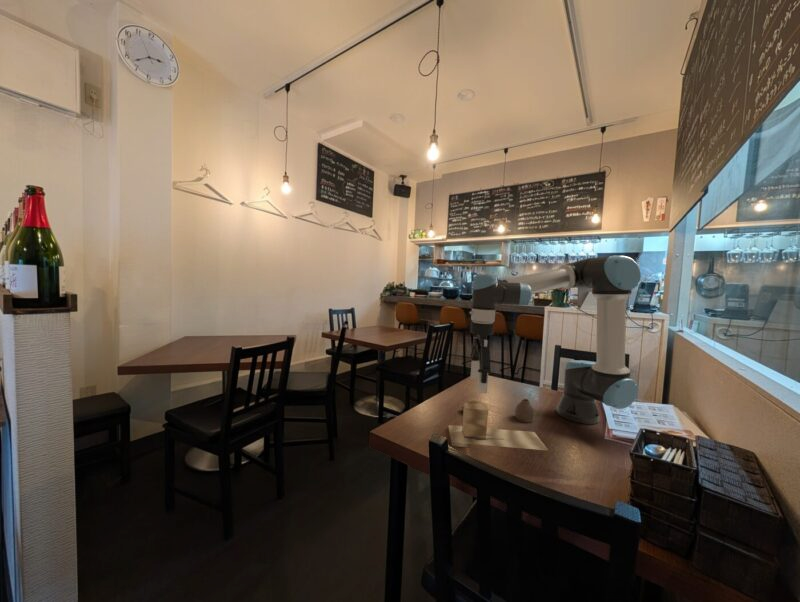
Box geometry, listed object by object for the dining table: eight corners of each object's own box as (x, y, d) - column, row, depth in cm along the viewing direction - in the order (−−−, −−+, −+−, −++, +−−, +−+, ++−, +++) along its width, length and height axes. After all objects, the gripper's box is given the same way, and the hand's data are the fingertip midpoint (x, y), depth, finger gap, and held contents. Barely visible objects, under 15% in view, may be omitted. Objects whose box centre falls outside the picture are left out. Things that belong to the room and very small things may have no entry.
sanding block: (482, 432, 106) (484, 404, 106) (485, 439, 101) (488, 410, 101) (462, 430, 107) (464, 402, 106) (464, 438, 102) (466, 408, 101)
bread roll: (483, 432, 117) (494, 414, 116) (459, 417, 118) (470, 400, 117) (482, 420, 127) (491, 404, 125) (459, 407, 128) (469, 391, 127)
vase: (511, 421, 119) (513, 399, 118) (518, 416, 124) (520, 395, 123) (529, 428, 114) (531, 405, 114) (536, 422, 119) (538, 400, 119)
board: (534, 435, 109) (534, 432, 109) (548, 454, 97) (548, 450, 97) (448, 428, 110) (448, 425, 110) (452, 445, 98) (452, 442, 98)
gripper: (465, 317, 114) (461, 373, 115) (478, 326, 89) (473, 398, 91) (485, 318, 114) (481, 374, 115) (504, 328, 89) (499, 400, 90)
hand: (478, 385), depth 103 cm, fingers open, 13 cm apart
